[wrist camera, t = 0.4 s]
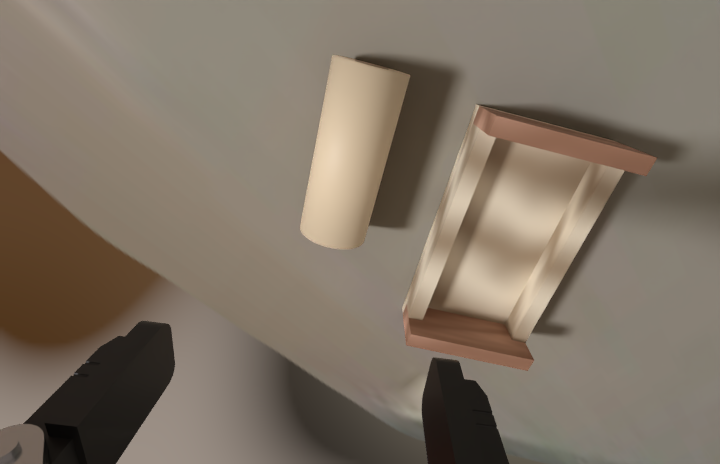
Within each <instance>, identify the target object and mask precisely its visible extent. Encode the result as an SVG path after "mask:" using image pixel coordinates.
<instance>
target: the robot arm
mask: <svg viewBox="0 0 720 464" xmlns="http://www.w3.org/2000/svg"><path fill="white" fill-rule="evenodd" d="M174 367H175V360H174V351H173V342H172V334H171V327H170V325H169V324H165V323H156V322H149V321H141V322H139V323H138V324H137V325H136V326H135V327H134V328H133V329H132V330H131V331H130V332H129V333H128V334H127V336H125V337H123V336H118V337H116V338H115V339H113V340H112V341H110V342H108V343H106V344H104V345H103V346H101V347H100V348H99V349H98V350H97V351H96V352H95V353H94V354H93V355H92V356H91V357H90V358H89V359H88V360H87V361H86V363H85V364H83V365H82V366H81V367H80V368H79V369H78V370H77V371H76V372H75V373H74V376H71V377H70V378H69V379H68V380H67V381H66V382H65V383H64V384H63V385H62V386H61V387H60V388H59V389H58V390H57V391H56V392H55V393H54V394H53V395H52V396H51V397H50V398H49V399H48V400H47V401H46V402H45V403H44V404H43V405H42V406H41V407H40V408H39V409H38V410H37V411H36V412H35V413H34V414H33V415H32V416H31V417H30V418H29V419H28V420H27V421H26V422H25V423H23V424H19V425H13V426H10V427H6V428H3V429H1V430H0V464H116V463H117V461H118V460H119V458H120V457H121V455H122V454H123V452H124V450H125V449H126V448H127V446H128V444H129V443H130V442H131V440H132V439H133V437H134V435H135V434H136V433H137V431H138V429H139V428H140V427H141V425H142V424H143V422H144V421H145V419H146V417H147V416H148V415H149V413H150V411H151V410H152V408H153V407H154V405H155V404H156V402H157V401H158V399H159V398H160V396H161V395H162V393H163V392H164V390H165V389H166V387H167V386H168V384H169V383H170V380H171V378H172V376H173V372H174ZM422 419H423V428H424V436H425V444H426V451H427V461H428V464H509V462H508V459H507V456H506V453H505V450H504V447H503V444H502V441H501V438H500V435H499V431H498V429H497V428H496V427H497V425H496V422H495V419H494V416H493V415H492V410H491V407H490V404H489V401H488V398H487V395H486V394H485V393H484V391H483V390H482V389H481V388H480V386H479V385H478V384H477V382H476V381H473V380H465V379H464V377H463V374H462V370H461V366H460V363H459V361H457V360H450V359H442V358H433V359H432V361H431V364H430V368H429V372H428V376H427V380H426V384H425V388H424V392H423V398H422Z"/></svg>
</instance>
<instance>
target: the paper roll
mask: <svg viewBox="0 0 720 464" xmlns="http://www.w3.org/2000/svg"><path fill="white" fill-rule="evenodd" d="M409 79H410V75H409V74H406V73H403V72H400V71H397V70H393V69H390V68H386V67H383V66H379V65H376V64H372V63H368V62H364V61H360V60H356V59H352V58H348V57H343V56H339V55H332V60H331V65H330V71H329V76H328V81H327V87H326V92H325V97H324V103H323V108H322V113H321V119H320V124H319V129H318V134H317V140H316V145H315V150H314V156H313V161H312V166H311V172H310V177H309V182H308V188H307V193H306V198H305V204H304V209H303V214H302V219H301V225H300V229H301V232H302V233H303V235H304V236H305V237H307V238H308V239H309V240H311V241H313V242H315V243H317V244H319V245H322V246H325V247H328V248H333V249H353V248H357V247H359V246H361V245H362V244H363V243H364V240H365V237H366V233H367V229H368V226H369V222H370V219H371V215H372V212H373V208H374V204H375V201H376V197H377V194H378V190H379V186H380V183H381V179H382V176H383V172H384V169H385V165H386V161H387V158H388V154H389V151H390V147H391V143H392V140H393V136H394V133H395V129H396V126H397V122H398V118H399V115H400V111H401V108H402V104H403V100H404V97H405V93H406V90H407V86H408V83H409Z"/></svg>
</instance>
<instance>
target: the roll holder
mask: <svg viewBox="0 0 720 464" xmlns="http://www.w3.org/2000/svg"><path fill="white" fill-rule="evenodd" d="M656 159H657V157H654V156H651V155H649V154H646V153H644V152H641V151H639V150H636V149H634V148H631V147H629V146H626V145H624V144H621V143H618V142H616V141H613V140H610V139H606V138H602V137H599V136H595V135H591V134H587V133H583V132H580V131H576V130H572V129H568V128H564V127H561V126H557V125H553V124H549V123H545V122H542V121H538V120H534V119H530V118H526V117H523V116H519V115H515V114H511V113H508V112H504V111H500V110H496V109H492V108H489V107H485V106H481V105H477V104H476V107H475V110H474V112H473V115H472V118H471V121H470V123H469V126H468V129H467V132H466V134H465V137H464V140H463V143H462V145H461V148H460V151H459V154H458V156H457V159H456V162H455V165H454V167H453V170H452V173H451V176H450V178H449V181H448V184H447V187H446V189H445V192H444V195H443V198H442V200H441V203H440V206H439V209H438V211H437V214H436V217H435V220H434V222H433V225H432V228H431V231H430V233H429V236H428V239H427V242H426V244H425V247H424V250H423V253H422V255H421V258H420V261H419V264H418V266H417V269H416V272H415V275H414V277H413V280H412V283H411V286H410V288H409V291H408V294H407V296H406V299H405V302H404V305H403V307H402V310H403V319H404V328H405V338H406V345H407V346H412V347H417V348H422V349H426V350H431V351H436V352H441V353H445V354H450V355H455V356H460V357H464V358H469V359H474V360H479V361H483V362H488V363H493V364H498V365H503V366H507V367H512V368H517V369H522V370H526V371H528V369H529V368H530V366H531V365H532V363H533V361H534V359H533V357H532V355H531V353H530V351H529V349H528V347H527V346H526V344H525V342H526V341H527V339H528V337H529V335H530V334H531V332H532V330H533V328H534V327H535V325H536V323H537V322H538V320H539V318H540V316H541V315H542V313H543V311H544V309H545V308H546V306H547V304H548V303H549V301H550V299H551V297H552V296H553V294H554V292H555V290H556V289H557V287H558V285H559V283H560V282H561V280H562V278H563V277H564V275H565V273H566V271H567V270H568V268H569V266H570V264H571V263H572V261H573V259H574V258H575V256H576V254H577V252H578V251H579V249H580V247H581V245H582V244H583V242H584V240H585V239H586V237H587V235H588V233H589V232H590V230H591V228H592V226H593V225H594V223H595V221H596V219H597V218H598V216H599V214H600V213H601V211H602V209H603V207H604V206H605V204H606V202H607V200H608V199H609V197H610V195H611V194H612V192H613V190H614V188H615V187H616V185H617V183H618V181H619V180H620V178H621V176H622V175H623V173H624V171H628V172H632V173H636V174H640V175H644V176H647V174H648V172H649V171H650V169H651V167H652V166H653V164H654V163H655V161H656Z"/></svg>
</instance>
